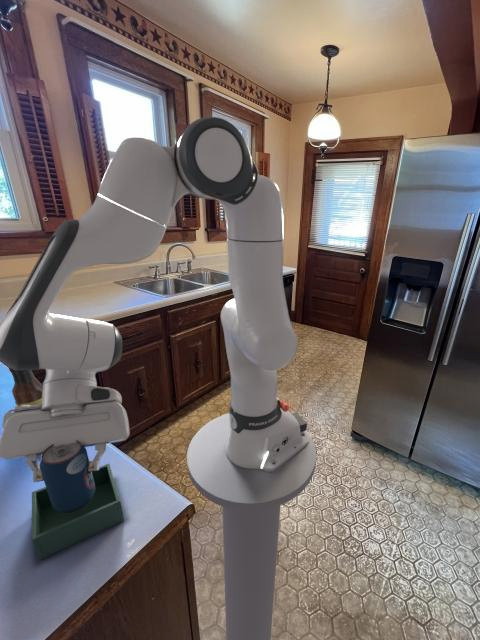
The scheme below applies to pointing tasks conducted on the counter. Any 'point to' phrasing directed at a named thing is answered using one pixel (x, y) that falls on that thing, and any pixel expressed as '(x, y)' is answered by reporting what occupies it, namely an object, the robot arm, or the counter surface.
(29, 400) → the sauce bottle
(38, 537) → the bin
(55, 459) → the soda can
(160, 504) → the counter surface
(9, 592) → the counter surface
